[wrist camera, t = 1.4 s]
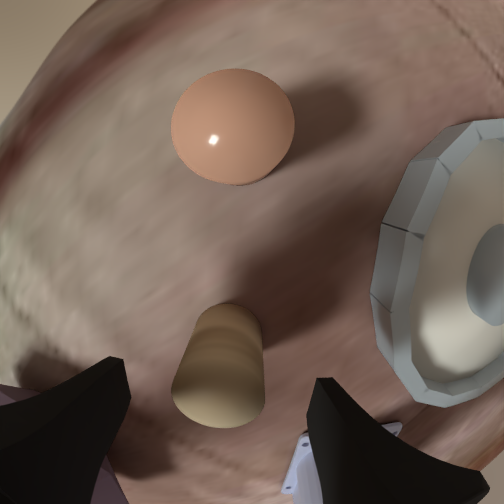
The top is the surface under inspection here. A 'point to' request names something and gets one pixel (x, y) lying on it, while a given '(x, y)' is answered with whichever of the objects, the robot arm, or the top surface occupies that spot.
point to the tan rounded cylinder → (222, 369)
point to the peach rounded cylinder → (233, 126)
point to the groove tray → (445, 268)
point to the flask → (107, 486)
